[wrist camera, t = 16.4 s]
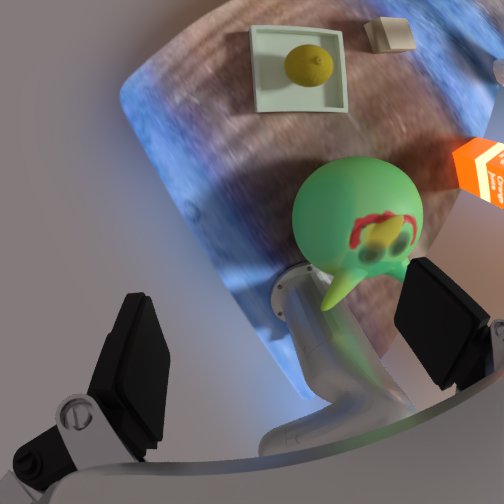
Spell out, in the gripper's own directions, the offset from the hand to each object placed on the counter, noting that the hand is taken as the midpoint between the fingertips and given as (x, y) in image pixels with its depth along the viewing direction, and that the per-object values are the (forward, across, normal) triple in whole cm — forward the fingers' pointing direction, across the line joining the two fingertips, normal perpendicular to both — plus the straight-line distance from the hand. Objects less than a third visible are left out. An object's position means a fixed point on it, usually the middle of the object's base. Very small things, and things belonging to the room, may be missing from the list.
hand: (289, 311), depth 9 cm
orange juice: (+31, -44, -1) cm, 54 cm away
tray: (+30, -9, -13) cm, 34 cm away
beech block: (+30, -23, -20) cm, 43 cm away
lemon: (+30, -9, -13) cm, 34 cm away
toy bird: (+31, -15, +7) cm, 35 cm away
